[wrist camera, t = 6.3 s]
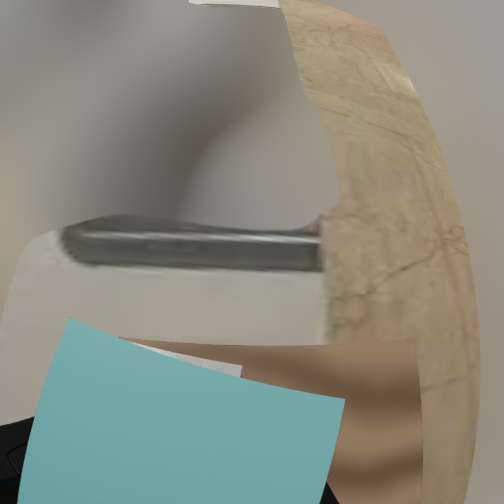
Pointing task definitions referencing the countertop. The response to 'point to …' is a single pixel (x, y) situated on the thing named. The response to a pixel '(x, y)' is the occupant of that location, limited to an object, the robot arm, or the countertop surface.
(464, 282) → the countertop surface
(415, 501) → the board
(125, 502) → the block
